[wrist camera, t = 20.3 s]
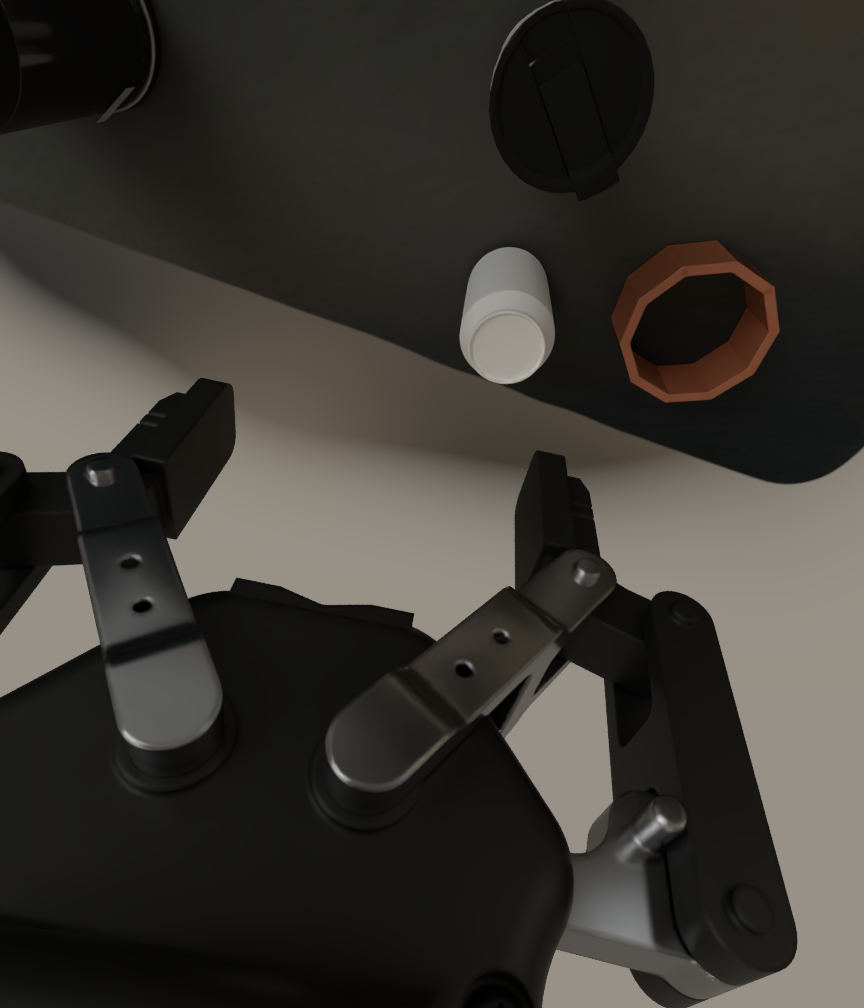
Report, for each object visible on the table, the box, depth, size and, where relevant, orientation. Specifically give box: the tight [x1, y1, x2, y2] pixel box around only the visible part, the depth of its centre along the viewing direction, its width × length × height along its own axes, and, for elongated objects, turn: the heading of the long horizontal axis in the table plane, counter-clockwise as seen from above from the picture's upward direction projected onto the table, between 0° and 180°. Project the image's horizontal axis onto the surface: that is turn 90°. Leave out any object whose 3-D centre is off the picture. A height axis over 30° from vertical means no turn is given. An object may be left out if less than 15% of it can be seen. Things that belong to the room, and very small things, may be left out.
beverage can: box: [460, 247, 555, 384], centre depth 41 cm, size 6×6×12 cm
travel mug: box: [489, 0, 654, 201], centre depth 29 cm, size 6×7×20 cm
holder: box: [611, 240, 780, 402], centre depth 44 cm, size 10×11×5 cm
